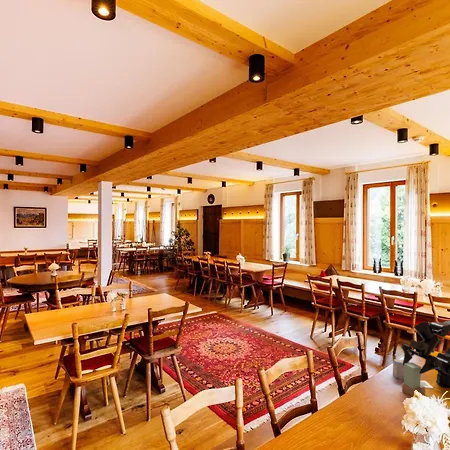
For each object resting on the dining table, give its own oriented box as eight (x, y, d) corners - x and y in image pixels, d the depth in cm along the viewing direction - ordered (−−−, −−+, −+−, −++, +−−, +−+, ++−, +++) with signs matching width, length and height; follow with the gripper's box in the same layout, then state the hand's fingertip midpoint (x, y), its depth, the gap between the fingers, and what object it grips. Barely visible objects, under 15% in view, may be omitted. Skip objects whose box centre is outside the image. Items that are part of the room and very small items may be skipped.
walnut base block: (410, 388, 160) (410, 380, 160) (424, 394, 154) (424, 386, 154) (402, 391, 156) (402, 383, 156) (416, 398, 150) (416, 390, 150)
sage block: (411, 381, 158) (411, 362, 158) (420, 387, 153) (420, 366, 153) (403, 383, 156) (404, 363, 156) (412, 388, 151) (413, 368, 151)
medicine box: (407, 375, 172) (407, 359, 172) (411, 379, 168) (411, 363, 168) (392, 374, 173) (392, 359, 173) (396, 378, 169) (396, 362, 169)
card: (425, 381, 166) (425, 380, 166) (433, 388, 159) (433, 387, 159) (411, 380, 167) (411, 379, 167) (418, 387, 160) (418, 386, 160)
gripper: (403, 328, 165) (387, 351, 161) (438, 341, 147) (420, 367, 144) (414, 341, 168) (398, 364, 164) (449, 355, 150) (432, 382, 146)
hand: (411, 369), depth 154 cm, fingers open, 9 cm apart
